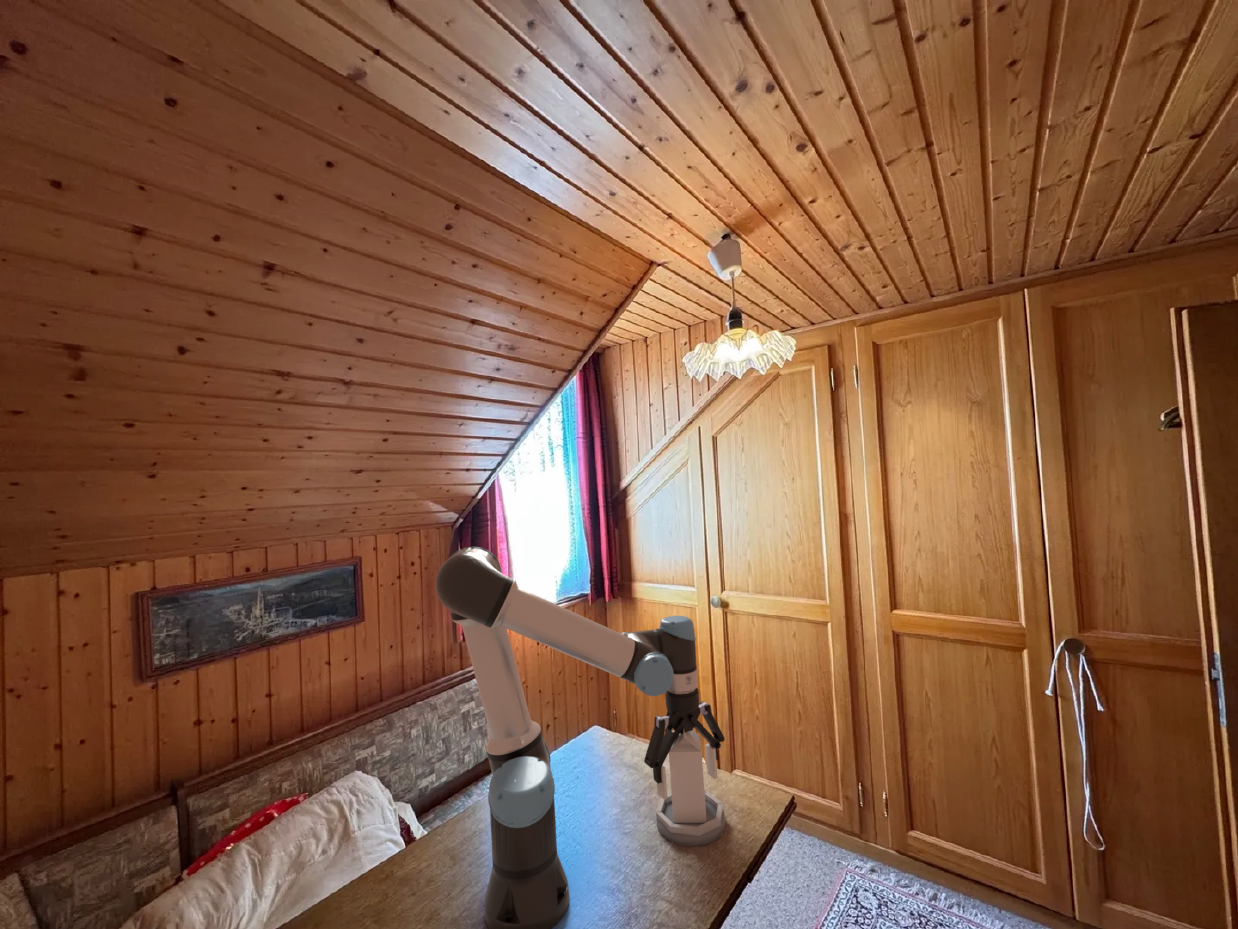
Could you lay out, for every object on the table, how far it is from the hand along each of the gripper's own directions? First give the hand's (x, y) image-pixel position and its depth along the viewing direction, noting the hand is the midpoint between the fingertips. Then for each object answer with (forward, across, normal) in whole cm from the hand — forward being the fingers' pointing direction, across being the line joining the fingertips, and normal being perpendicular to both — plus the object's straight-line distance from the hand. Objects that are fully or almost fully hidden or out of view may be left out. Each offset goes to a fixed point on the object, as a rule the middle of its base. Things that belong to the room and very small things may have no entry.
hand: (688, 786), depth 113 cm
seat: (+8, 0, 0) cm, 8 cm away
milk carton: (+6, 0, 0) cm, 6 cm away
